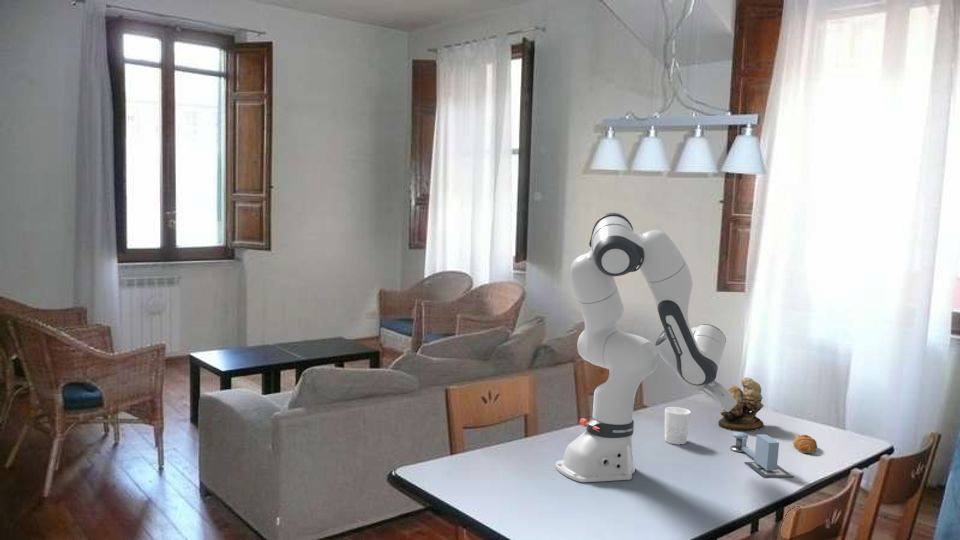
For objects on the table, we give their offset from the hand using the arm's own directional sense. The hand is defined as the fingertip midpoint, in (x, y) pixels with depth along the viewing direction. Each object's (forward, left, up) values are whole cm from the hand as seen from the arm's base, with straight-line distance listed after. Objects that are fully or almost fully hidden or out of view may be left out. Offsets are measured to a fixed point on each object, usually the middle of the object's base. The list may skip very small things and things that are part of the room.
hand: (728, 409), depth 210 cm
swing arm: (+14, +2, -16) cm, 21 cm away
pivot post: (+16, +10, -17) cm, 26 cm away
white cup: (+2, +23, -18) cm, 29 cm away
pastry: (+38, +4, -18) cm, 42 cm away
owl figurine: (+36, +29, -18) cm, 50 cm away
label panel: (+12, -6, -17) cm, 22 cm away
